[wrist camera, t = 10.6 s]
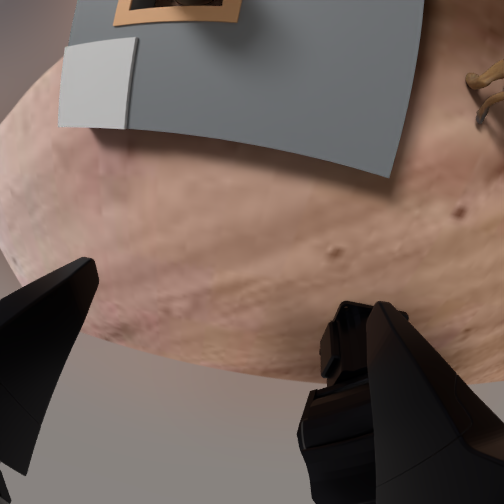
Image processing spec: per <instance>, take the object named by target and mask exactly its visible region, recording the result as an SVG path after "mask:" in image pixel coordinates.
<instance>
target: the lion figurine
mask: <svg viewBox="0 0 504 504" xmlns="http://www.w3.org/2000/svg"><path fill="white" fill-rule="evenodd" d="M503 78H504V59H503V60H501V61H499V62H497V63H496V64H494V65H493V66H492V67H490V68H489V69H488V70H487V71H486V72H485V73H483V74H482V75H481V76H479V75H477V74H475V73H468V74H467V75H466V82H467V84H468V86H469V87H470V88H472V89H473V90H478V89H481V88H485V87H487V86H488V85H489V84H490V83H491V82H492V81H495V80H498V79H503ZM503 100H504V91H503V92H500V93H497V94H494V95H492V96H491V97H489V98H488V99H487V100H486V101H485V102H484V104H483V105H482V106H481V108H480V109H479V110H478V111H477V116H476V121H477V123H479V124H481V123H482V122H483V121H484V118H485V117H486V115H487V113H488V110H489V108H490V106H491V105H492V104H494V103H496V102H499V101H503Z"/></svg>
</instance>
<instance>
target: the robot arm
mask: <svg viewBox="0 0 504 504" xmlns="http://www.w3.org/2000/svg"><path fill="white" fill-rule="evenodd" d="M98 284H99V277H98V273H97V268H96V264H95V261H94V259H92V258H87V257H81V258H79V259H77V260H75V261H73V262H71V263H69V264H67V265H65V266H63V267H61V268H59V269H57V270H55V271H53V272H51V273H49V274H47V275H45V276H43V277H41V278H39V279H37V280H35V281H33V282H32V283H30V284H28V285H26V286H24V287H22V288H20V289H18V290H17V291H15V292H13V293H11V294H9V295H8V296H6V297H4V298H2V299H1V300H0V463H1V462H3V463H4V464H5V465H7V466H9V467H10V468H12V469H14V470H15V471H17V472H19V473H21V474H22V475H24V476H26V474H27V471H28V468H29V464H30V460H31V457H32V454H33V450H34V446H35V444H36V440H37V437H38V434H39V431H40V428H41V424H42V422H43V419H44V416H45V413H46V410H47V408H48V405H49V402H50V399H51V397H52V394H53V392H54V389H55V387H56V384H57V382H58V379H59V376H60V374H61V372H62V370H63V367H64V365H65V362H66V360H67V358H68V356H69V353H70V351H71V349H72V347H73V345H74V343H75V340H76V338H77V336H78V334H79V332H80V330H81V328H82V325H83V323H84V321H85V318H86V316H87V313H88V310H89V308H90V305H91V303H92V300H93V297H94V295H95V292H96V290H97V287H98ZM345 306H348V307H347V308H344V307H345ZM408 319H409V317H408V314H407V313H406V312H402V311H398V310H397V309H396V308H395V307H394V306H393V305H392V304H391V303H389V302H384V301H378V302H376V303H375V305H374V306H371V305H365V304H360V303H355V302H350V301H343V302H342V303H341V304H340V306H339V308H338V310H337V312H336V315H335V317H334V319H333V321H331V322H329V323H328V326H327V328H326V330H325V332H324V335H323V337H322V339H321V341H320V351H319V353H320V356H321V376H322V377H323V378H327V387H326V388H323V389H320V390H317V389H316V390H312V391H310V393H309V396H308V399H307V402H306V406H305V409H304V412H303V415H302V418H301V421H300V423H299V427H298V431H297V437H298V443H299V448H300V451H301V454H302V456H303V458H304V461H305V463H306V466H307V469H308V473H309V478H310V485H311V495H312V499H313V501H314V502H315V503H316V504H504V423H503V422H502V421H501V420H500V419H499V418H498V416H497V415H496V414H494V413H493V412H492V410H491V409H490V408H489V407H488V406H487V405H485V403H484V402H483V401H482V400H481V399H480V398H479V397H478V396H477V395H476V394H475V393H474V392H473V391H472V390H471V389H470V388H469V387H468V385H467V384H466V383H465V382H464V381H463V380H462V379H461V378H460V376H459V375H456V372H455V371H454V370H453V369H452V368H451V366H450V365H449V364H448V363H447V362H446V361H445V360H444V359H443V358H442V357H441V355H440V354H439V353H438V352H437V351H436V350H435V349H434V348H433V347H432V346H431V345H430V344H429V343H428V341H427V340H426V339H425V338H424V337H423V336H422V335H421V334H420V333H419V332H418V331H417V330H416V329H415V328H414V327H413V326H412V325H411V324H410V323H409V322H408ZM10 503H11V498H10V495H9V493H8V490H7V487H6V484H5V481H4V478H3V475H2V472H1V470H0V504H10Z"/></svg>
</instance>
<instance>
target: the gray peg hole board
mask: <svg viewBox="0 0 504 504" xmlns="http://www.w3.org/2000/svg"><path fill="white" fill-rule="evenodd" d="M155 1H156V0H78V1H77V5H76V10H75V14H74V18H73V23H72V28H71V33H70V39H69V45H68V47H65V52H64V59H63V66H62V75H61V85H60V97H59V114H58V127H87V128H111V129H138V130H150V131H160V132H170V133H179V134H187V135H195V136H202V137H209V138H216V139H223V140H229V141H235V142H241V143H246V144H252V145H257V146H263V147H268V148H273V149H278V150H283V151H287V152H292V153H296V154H301V155H305V156H309V157H314V158H318V159H322V160H326V161H330V162H334V163H338V164H341V165H345V166H349V167H352V168H356V169H360V170H363V171H366V172H370V173H373V174H377V175H380V176H383V177H386V178H389V177H390V173H391V170H392V167H393V163H394V159H395V156H396V152H397V148H398V145H399V141H400V137H401V133H402V129H403V125H404V121H405V116H406V112H407V108H408V103H409V98H410V94H411V89H412V84H413V78H414V73H415V67H416V61H417V55H418V49H419V42H420V35H421V27H422V18H423V8H424V0H223V4H222V6H173V7H158V8H154V5H155Z"/></svg>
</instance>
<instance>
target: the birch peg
mask: <svg viewBox="0 0 504 504" xmlns="http://www.w3.org/2000/svg"><path fill="white" fill-rule="evenodd" d="M175 1H177V2H178V3H180V4H182V5H185V6H201V5H204V4H207V3H209V2H211V1H213V0H175Z"/></svg>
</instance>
